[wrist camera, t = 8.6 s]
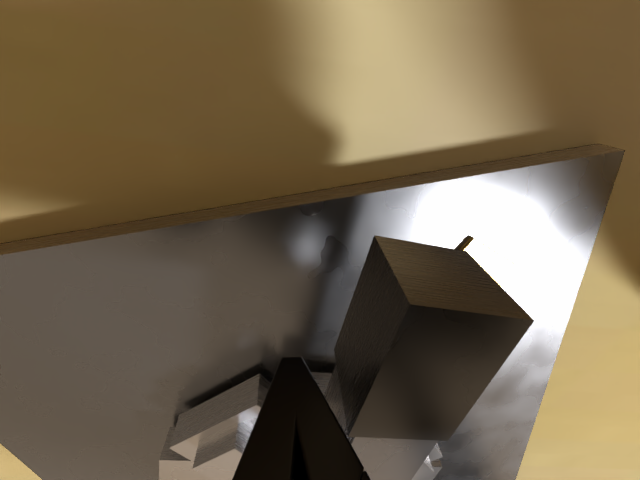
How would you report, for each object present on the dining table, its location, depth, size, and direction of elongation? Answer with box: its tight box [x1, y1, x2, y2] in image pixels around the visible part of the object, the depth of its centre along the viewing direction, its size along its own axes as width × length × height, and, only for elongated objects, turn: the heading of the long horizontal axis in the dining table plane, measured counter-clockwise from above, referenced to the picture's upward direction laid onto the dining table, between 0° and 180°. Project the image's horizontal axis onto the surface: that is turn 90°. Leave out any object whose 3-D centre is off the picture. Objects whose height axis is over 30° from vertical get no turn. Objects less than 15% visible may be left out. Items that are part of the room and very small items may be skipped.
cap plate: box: [0, 144, 625, 480], centre depth 16 cm, size 26×26×3 cm
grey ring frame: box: [159, 235, 534, 480], centre depth 13 cm, size 21×13×5 cm, turn 167°
